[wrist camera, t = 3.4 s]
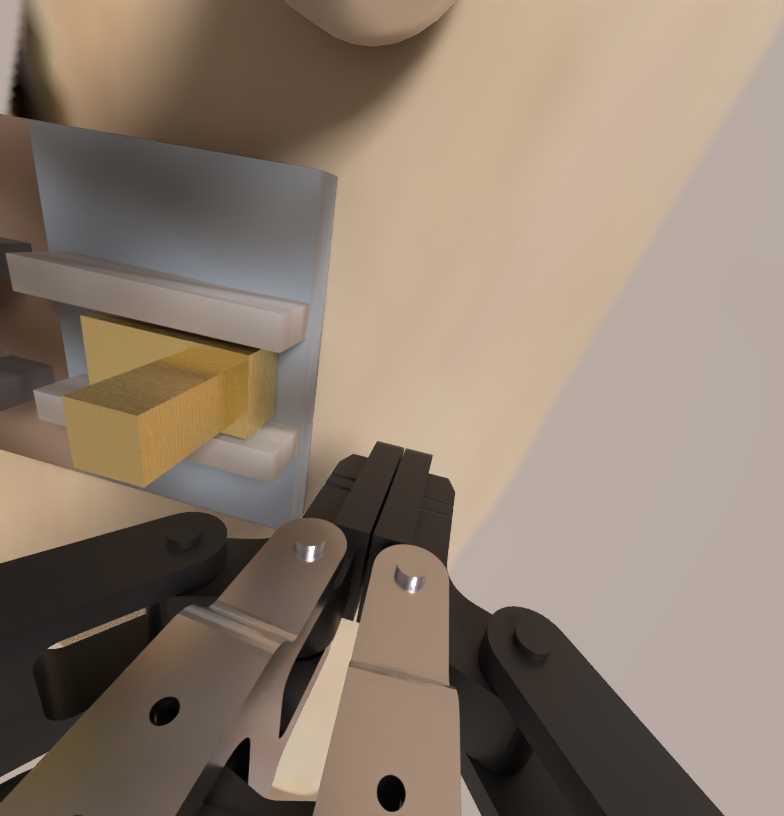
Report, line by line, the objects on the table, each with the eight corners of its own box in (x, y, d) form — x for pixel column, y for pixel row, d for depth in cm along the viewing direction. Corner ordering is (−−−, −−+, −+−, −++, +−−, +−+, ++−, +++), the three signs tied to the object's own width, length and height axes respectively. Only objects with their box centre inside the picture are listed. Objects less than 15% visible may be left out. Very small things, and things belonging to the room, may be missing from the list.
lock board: (-41, 110, 16) (-218, 67, 12) (337, 177, 14) (278, 151, 10) (29, 435, 21) (-74, 479, 17) (303, 512, 19) (257, 581, 15)
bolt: (128, 306, 15) (-69, 343, 10) (278, 340, 15) (155, 401, 9) (134, 381, 17) (-38, 450, 11) (274, 416, 16) (163, 509, 10)
